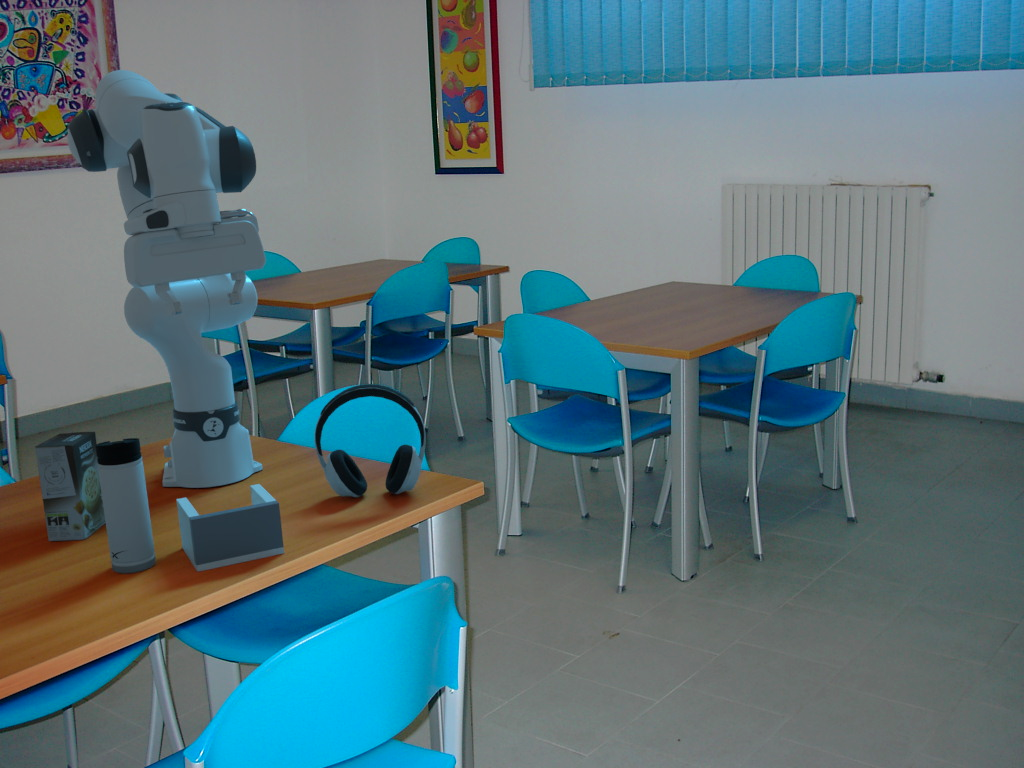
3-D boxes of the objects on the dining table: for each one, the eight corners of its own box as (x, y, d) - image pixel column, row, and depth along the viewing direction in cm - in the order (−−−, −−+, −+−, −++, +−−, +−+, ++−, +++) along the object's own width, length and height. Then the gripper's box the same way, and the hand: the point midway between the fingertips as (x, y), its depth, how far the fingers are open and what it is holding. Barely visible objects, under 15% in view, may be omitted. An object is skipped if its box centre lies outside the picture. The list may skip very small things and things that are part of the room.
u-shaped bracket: (182, 547, 170) (176, 499, 168) (264, 531, 176) (259, 483, 174) (197, 571, 160) (191, 520, 158) (284, 553, 165) (278, 503, 163)
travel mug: (114, 578, 159) (95, 446, 155) (111, 563, 165) (93, 436, 161) (158, 569, 161) (141, 439, 157) (153, 555, 167) (137, 430, 163)
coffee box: (86, 540, 176) (72, 445, 173) (47, 542, 177) (33, 446, 173) (108, 521, 185) (95, 430, 182) (71, 523, 186) (58, 432, 182)
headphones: (429, 484, 196) (421, 375, 192) (430, 498, 188) (421, 385, 184) (322, 493, 194) (311, 384, 190) (318, 507, 186) (307, 394, 182)
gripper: (245, 209, 166) (262, 299, 168) (112, 224, 154) (131, 321, 156) (263, 205, 161) (280, 297, 163) (126, 220, 149) (146, 320, 151)
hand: (206, 309), depth 159 cm, fingers open, 8 cm apart
